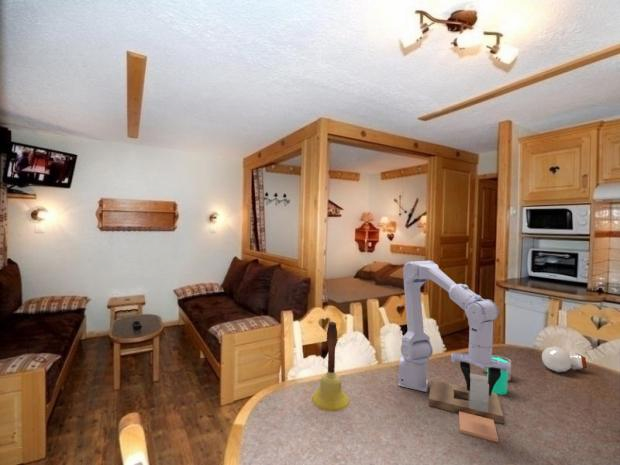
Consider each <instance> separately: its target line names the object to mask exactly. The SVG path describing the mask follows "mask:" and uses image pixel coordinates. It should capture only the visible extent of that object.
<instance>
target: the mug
mask: <svg viewBox="0 0 620 465" xmlns="http://www.w3.org/2000/svg"><path fill="white" fill-rule="evenodd" d="M492 357H499V358H501V359H503V360H505V361H508V363H510V365H511V366H512V360H511V359H510V358H508V357H505V356H502V355H496V354H495V355H493V354H492ZM480 369H481V371H482V370H483V371H484V372H487V373H488V368H486V367H485V368H482V367H480ZM511 377H512V372H511V373H508V379H507V382H510V381H511V379H512V378H511Z"/></svg>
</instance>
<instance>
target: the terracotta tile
mask: <svg viewBox="0 0 620 465" xmlns="http://www.w3.org/2000/svg"><path fill="white" fill-rule="evenodd" d="M458 422H459V433H460V434H465V435H469V436H472V437H476V438H480V439H484V440H487V441H491V442H496V443H499V438H498V433H497V429H496V425H495V422H494V420H493V419H489V418H485V417H481V416H476V415H472V414H468V413H464V412H460V411H459V413H458Z"/></svg>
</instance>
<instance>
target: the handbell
mask: <svg viewBox="0 0 620 465" xmlns="http://www.w3.org/2000/svg"><path fill="white" fill-rule="evenodd" d="M326 343H327V348H328V350H327V352H328V353H327V354H328V355H327V372H326V373H324V374H323V375H322V376H321V377H320V387H319V389H317V390H316V391H314V392H313V394H312V395H313V396H312V395H311V398H312V399H311V402H312V404H313V403H314V404H313V405H314V406H315V407H316V406H317V407H316V408H318V409H320V410H322V409H323V411H325V412H326V411H327V412H339V411H343V410H344V409H346V408H347V407H348V406H349V405H350V397H349V395H348V394H347V393H346V392H345V391H343V389H342V380H341V377H340V376H339V375H338V374H336V372H335V368H336V366H335V365H336V360H335V359H336V348H337V344H338V329H337V324H336V322H335V321H330V322H329V323H328V325H327V329H326Z"/></svg>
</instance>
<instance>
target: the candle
mask: <svg viewBox="0 0 620 465" xmlns="http://www.w3.org/2000/svg"><path fill="white" fill-rule="evenodd" d="M492 359H495V360H499V361H502V362H506V363H508V361H505V360H503V359H501V358H499V357H492ZM500 372H501V376H500V378H499V379H498V380H497V382H496V383H495V385H494V387H493V390H492V393H496V394H497V395H502V396H503V395H507V393H508V381H507V379H508V372H506V371H503V370H500ZM486 376H487V378H488V373H487V375H486Z"/></svg>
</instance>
